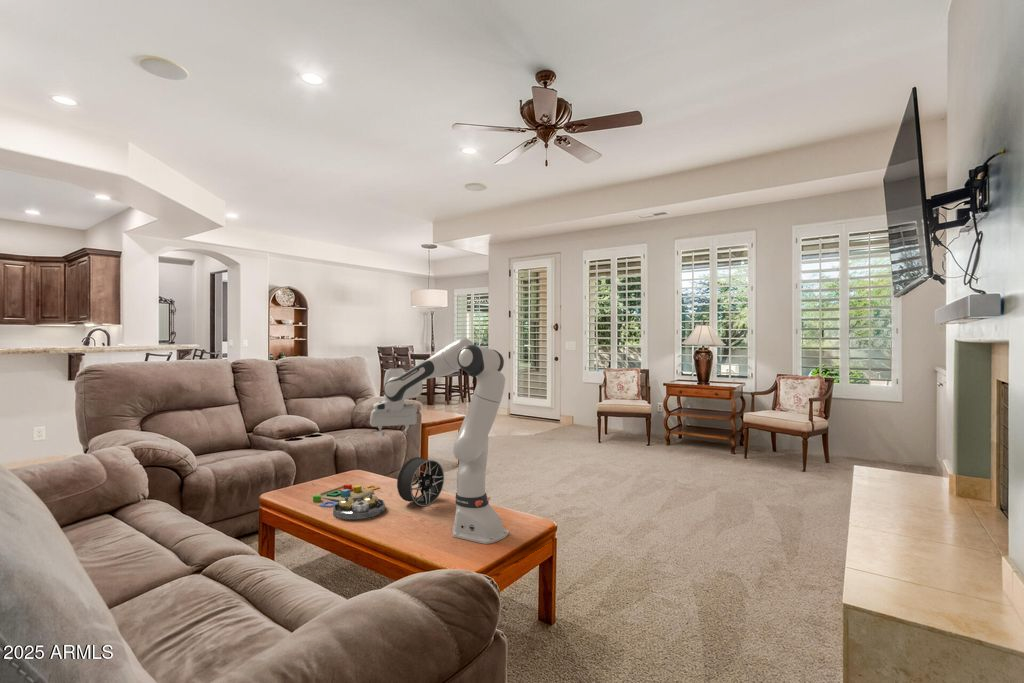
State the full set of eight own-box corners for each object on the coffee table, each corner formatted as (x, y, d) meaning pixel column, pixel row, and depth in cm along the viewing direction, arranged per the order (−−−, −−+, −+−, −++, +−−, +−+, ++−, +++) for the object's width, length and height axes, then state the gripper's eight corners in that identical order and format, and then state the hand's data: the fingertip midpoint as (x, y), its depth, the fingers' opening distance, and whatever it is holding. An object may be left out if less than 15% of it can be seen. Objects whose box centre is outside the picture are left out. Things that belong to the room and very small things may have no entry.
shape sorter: (359, 484, 251) (359, 475, 251) (387, 490, 241) (387, 480, 241) (303, 503, 221) (303, 493, 221) (332, 511, 212) (332, 500, 212)
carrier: (394, 510, 212) (394, 497, 212) (352, 524, 195) (352, 510, 195) (365, 499, 225) (365, 487, 225) (323, 512, 208) (323, 499, 208)
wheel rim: (410, 511, 211) (411, 464, 211) (396, 506, 216) (397, 461, 216) (443, 499, 227) (444, 456, 227) (430, 495, 232) (430, 453, 232)
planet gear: (372, 512, 205) (372, 503, 205) (358, 517, 200) (358, 507, 200) (362, 509, 209) (362, 499, 209) (348, 513, 204) (349, 503, 204)
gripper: (416, 402, 224) (415, 432, 225) (369, 404, 217) (369, 435, 217) (418, 404, 219) (418, 435, 219) (371, 406, 211) (370, 438, 211)
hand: (393, 435), depth 218 cm, fingers open, 8 cm apart
